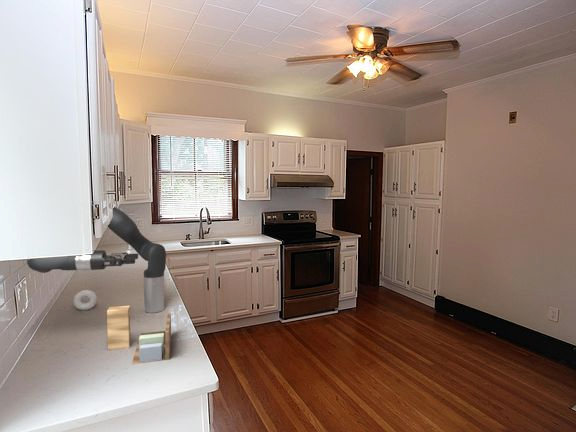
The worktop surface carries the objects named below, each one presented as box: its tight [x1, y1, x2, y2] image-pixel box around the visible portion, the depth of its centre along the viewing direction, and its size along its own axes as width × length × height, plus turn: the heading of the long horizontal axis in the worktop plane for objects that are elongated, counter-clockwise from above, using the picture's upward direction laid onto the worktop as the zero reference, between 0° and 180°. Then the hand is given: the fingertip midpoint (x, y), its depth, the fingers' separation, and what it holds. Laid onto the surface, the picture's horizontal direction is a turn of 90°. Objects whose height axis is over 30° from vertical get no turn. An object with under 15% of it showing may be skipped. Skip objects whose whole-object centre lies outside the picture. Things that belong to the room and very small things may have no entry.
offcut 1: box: [138, 333, 164, 358], centre depth 120 cm, size 3×8×7 cm, turn 107°
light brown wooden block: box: [106, 305, 132, 351], centre depth 125 cm, size 4×7×15 cm, turn 107°
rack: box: [131, 311, 172, 365], centre depth 124 cm, size 19×12×11 cm, turn 17°
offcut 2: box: [140, 343, 163, 363], centre depth 117 cm, size 2×7×5 cm, turn 107°
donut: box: [73, 289, 98, 311], centre depth 164 cm, size 10×4×10 cm, turn 114°
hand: (136, 258), depth 136 cm, fingers open, 8 cm apart
